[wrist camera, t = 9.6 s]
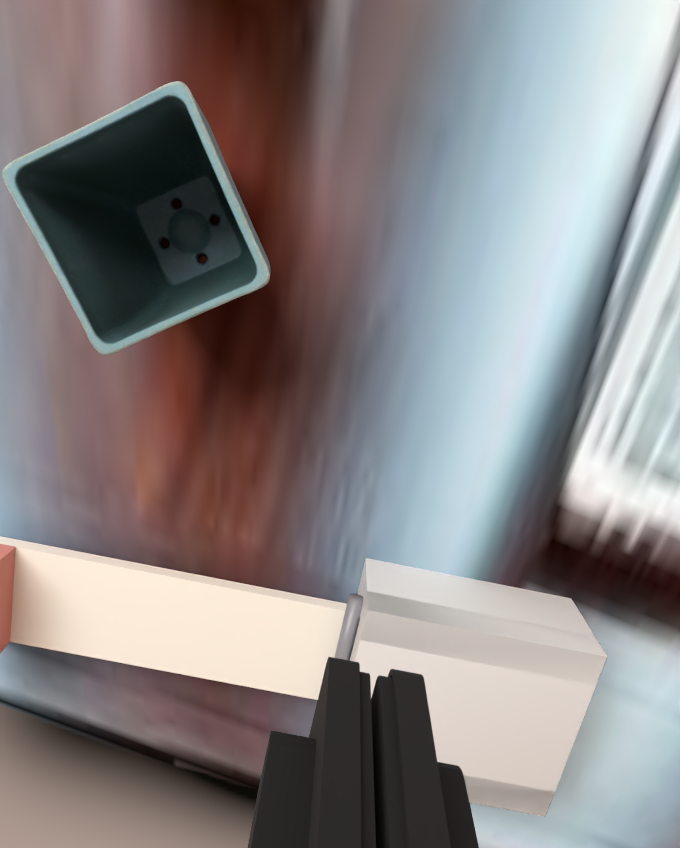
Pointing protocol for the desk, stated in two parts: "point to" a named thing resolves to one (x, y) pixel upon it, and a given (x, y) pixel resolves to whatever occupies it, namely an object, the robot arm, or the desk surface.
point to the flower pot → (139, 219)
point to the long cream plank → (165, 619)
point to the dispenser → (481, 673)
